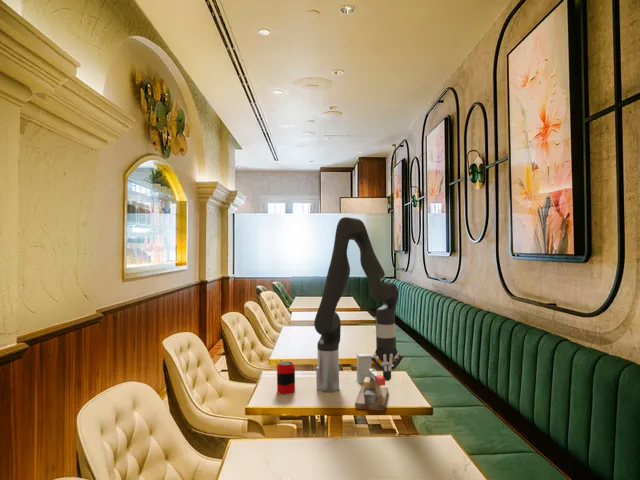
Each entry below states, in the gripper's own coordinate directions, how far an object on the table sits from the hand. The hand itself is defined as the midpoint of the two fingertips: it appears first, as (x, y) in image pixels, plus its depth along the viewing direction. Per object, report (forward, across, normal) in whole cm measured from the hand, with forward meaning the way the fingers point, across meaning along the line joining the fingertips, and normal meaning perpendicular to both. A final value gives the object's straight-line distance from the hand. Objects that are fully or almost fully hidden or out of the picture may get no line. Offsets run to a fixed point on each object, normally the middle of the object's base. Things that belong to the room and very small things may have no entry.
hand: (387, 380), depth 159 cm
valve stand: (+11, +4, -9) cm, 14 cm away
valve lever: (+1, +3, -4) cm, 5 cm away
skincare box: (+11, +1, -30) cm, 32 cm away
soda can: (+10, +37, -24) cm, 46 cm away
